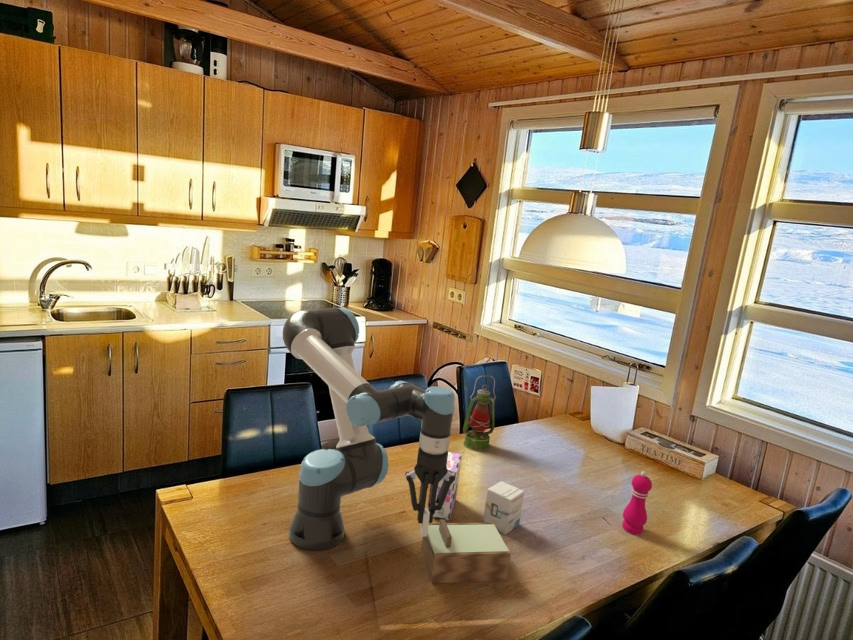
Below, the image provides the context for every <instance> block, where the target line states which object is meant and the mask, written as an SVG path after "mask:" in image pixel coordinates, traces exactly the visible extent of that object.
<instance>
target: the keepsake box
mask: <svg viewBox="0 0 853 640" xmlns="http://www.w3.org/2000/svg"><path fill="white" fill-rule="evenodd" d="M439 524H440V522H436V523H434V522H432V523H429V525H439ZM446 524H447V525H479V524H494V522H491V523H486V522H446ZM420 551H421V554H422V557H423V558H422V559H423V561H424V564H425V567H426V570H427V573H428V576H429V579H430V582H431V584H451V583H452V584H455V583H479V582H480V583H483V582H507V580H508V574H509V569H510V562H511V556H512V553H511V551H509V552H485V553H445V554H435V555H434V552H433V549H432V546H431V543H430V540H429V538H428V535H427V536H425V537H421V545H420Z"/></svg>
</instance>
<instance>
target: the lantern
mask: <svg viewBox="0 0 853 640" xmlns="http://www.w3.org/2000/svg"><path fill="white" fill-rule="evenodd" d="M481 377H482V378H492V379H493V390H492V391H493V392H492V393H493V396H494V397H491V392H490V390H488V385H487V384H483V385H482V387H481V389H478V390H477V393H476V396H475V397H473V395H474V394H475V391H476V385H477V382H478V379H479V378H481ZM484 386H486V388H484ZM495 387H496V380H495V378H494V377H493V376H492V375H491V374H483V375H480V376H478V377H477V378H476V379H475V382H474V387H473V392H472V394H471V395H470V396H469V398H470V403H469V405H468V408H467V412H466V416H465V419H464V424H463V427H462V432H463V434H464V440H463V443H462V444H463V446H464V447H465V448H466V449H469V450H471V451H473V452H474V451H475V452H485V451H488V450H489V449H490V439H491V437H490V434H492V433H493V431H494V430H495V400H496V398H497V397H496V394H495ZM472 397H473V398H472ZM475 402H477V403H476V404H475ZM474 404H475V406H474ZM488 404H490V409H489V406H488ZM473 406H474V407H473ZM473 408H474V409H473ZM469 427H471V428H472V429H471V430H469ZM489 428H490V429H489ZM488 429H489V430H488ZM486 430H487V431H486Z"/></svg>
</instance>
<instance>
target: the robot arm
mask: <svg viewBox="0 0 853 640" xmlns="http://www.w3.org/2000/svg"><path fill="white" fill-rule="evenodd" d="M359 335H360V326H359V322H358V319H357V317H356V316H355V315H354V313H353V312H352V311H350V310H349V309H348V308H345V307H334V306H333V307H325V308H311V309H309V308H308V309H301V310H300V309H299V310H298V311H296V312H294V313H292V314H291V315H290V316H288V318H287V319H286V320H285V322H284V325H283V327H282V340H283V343H284V345H285V347H286V349H287V350H288V352H289V353H290V354H291V355H292V356H293V357H294V358H295V359H298V360H303V362H304V363H305V364H306V365H307V366H308V367H309V368H310V369H311V370H313V372H314V373H315V374H316V375H317V376H318V377H320V378H321V380H322V381H323V382H324V383H325V384H326V385H327V386H328V390H329V396H330V399H331V404H332V410H333V414H334V419H335V423H336V429H337V433H338V437H339V441H338V443H337V444H336V446H335V447H336V449H332V448H328V449H326V448H321V449H316V450H314V451H311V452H310V453H308V454H307V455H306V456H304V457H303V460H302V461H301V464H300V470H299V473H298V478H299V480H298V493H297V494H298V495H297V508H296V510H295V512H294V515H293V517H292V519H291V522H290V523H289V529H288V538H289V539H290V541H291V542H292V543H293V544H294V545H295V546H297V547H299V548H301V549H303V550H304V549H305V550H307V551H308V550H309V551H310V550H311V551H324V550H328V549H331V548H335V546H337V545H339V544H340V543H341V542H343V540H344V536H345V524H344V520H343V516H342V512H341V501H342V497H344V496H347V495H350V494H354V493H356V492H360V491H362V490H365V489H369V488H373V487H374V486H376V485H378V484H381V482H383V481H384V480H385V478H386V476H387V474H388V472H389V468H390V467H389V466H390V465H389V464H390V463H389V455H388V452H387V450H386V449H385V448H384V446H383V445H382V444H380V443H377V440H376V437H375V436H373V435H372V434H370V433H369V432H370V431H369V428H368V426H373V425H375V424H378V423H382V422H386V421H390V420H393V419H399V418H403V417H406V416H408V417H412V418H414V419H416V420H418V421H420V422H421V425H420V435H419V442H418V446H419V447H418V450H417V459H416V465H414V468H413V470H412V471H410V472H409V471H406V472H405V473H404V476H405V479H406V481H407V483H408V487H409V496H410V501H411V506H412V509H413V511H415V512H416V511H417V517H416V519H417V523H418V524H419V534H420V536H421V538H422V537H425V536H427V533H428V525H429V523H433V521H434V517H433V514H435V511H436V510H441V509H442V506H443V503H444V501H445V498H446V496H447V493H448V490H449V488H450V485H451V484H452V483H453V481H454V480H455V476H454V474H453V473H452V472H449V471H448V469H447V467H446V465H447V458H448V452H449V448H450V440H451V432H452V431H451V430H452V424H453V423H452V422H453V417H454V413H455V412H454V411H455V399H456V397H455V393H454V391H453V390H451V389H450V388H447V387H442V386H429V387H427V388H426V390H425V389H423V388H421V387H419V386H417V385H415V384H413V383H411V382H407V381H405V380H404V381H403V380H398V381H395V382H394V383H393V384H391V385H390V387H388V388H387V389H382V390H377V389H376V388H375V387H374V386H373V385H372V384H370V382H368V381H367V380H366V379H365V378H364V377H363V376H362V375H360V373H359V372H358V371H356V369H355V364H354V359H353V356H352V354H353V352H354V351H355V348H356V345H355V343H357V341H358V339H359ZM444 476H445V477H444ZM416 477H417V478H418V480H419V481H420V489H419V495H418V496H419V497H418V499H417V492H416V484H415V480H416ZM443 477H444V478H445V479H444V481H443V483H442V486H441V489H440V491H439V494H438V497H437V499H436V494H437V489H438V483H439V482H440V481H441V480H442V478H443ZM429 485H430V486H429ZM428 489H429V493H428ZM427 494H429V495H428V502H427V503H428V504H427V507H426V501H427Z"/></svg>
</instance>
